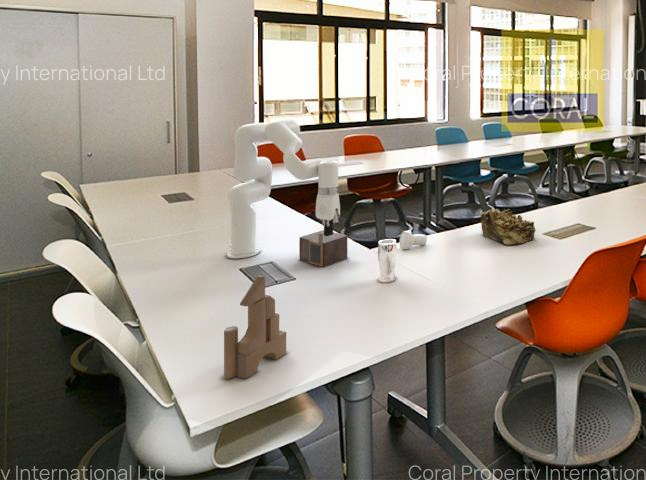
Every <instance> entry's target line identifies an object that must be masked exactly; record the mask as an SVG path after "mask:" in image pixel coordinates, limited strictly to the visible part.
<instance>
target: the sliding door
mask: <svg viewBox="0 0 646 480" xmlns="http://www.w3.org/2000/svg"><path fill="white" fill-rule="evenodd" d="M308 264H312V265H314V266H319V267H322V266H323V233H318V242H315V241H311V240H309V263H308Z"/></svg>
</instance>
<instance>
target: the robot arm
mask: <svg viewBox="0 0 646 480" xmlns="http://www.w3.org/2000/svg"><path fill="white" fill-rule="evenodd" d="M300 132H301V126H300V125H299V122H297V121H295V120H294V119H289V118H287V119H277V120H272V121H266V122H265V121H264V122H257V123H248V124H247V123H246V124H243V125H241V126H240V127H238V128H237V130H236V131H235V132H234V147H235V155H234V166H233V167H234V168H233V175H234V179H235V180H236V181H238V182H242V183H238V184H236V185H234V186H232V187H231V188H230V189H229V191H228V193H227V200H228V202H229V208H230V244H228V247H229V248H230V250H229V251H228V252H227V253H226V258H228V259H237V260H238V259H245V258H246V259H247V258H250V257H254V256H256V255H258V254H259V253H260V252H261V250H260V248H259V247H257V246H256V245H257V243H256V238H257V237H256V235H257V234H256V233H257V231H256V230H257V229H256V228H257V225H256V224H257V223H256V220H257V219H256V211H255V209H254V207H253V206H252V204H254V203H257V202H261V201H264V200H266V199H268V198H269V196H270V194H271V190H272V180H273V164H272V162H271V159H269V158H268V157H266V156H258V147H257V145H256V144H255V143H265V142H272V144H273V145H275V146H276V147H277V148H278V149H279V151H281V153H283V165H284V167H285V169H286V170H287V171H288V172H289V173H290V174H291V176H292V177H294V178H295V179H297V180H300V181H305V180H309V179H313V178H317V179H318V180H317V181H318V182H317V183H318V193H317V195H316V201H315V217H316V218H317V219H318V220H320V221H321V222H322V226H323V230H324V236H330V235H333V232H334V226H335V224H336V223H339V218H340V217H341V202H340V196H339V162H338V161H336V160H334V159H333V160H332V159H331V160H327V159H325V158H312V159H307V160H303V161H302V160H301V159H300V158H299V157H298V156H297V155H296V154H297V153H298V152H299V151H300V149H301V148H302V146H303V141H302V139H301V138H300V137H298V136H299V134H300ZM252 180H253V181H252Z"/></svg>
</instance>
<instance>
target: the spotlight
mask: <svg viewBox="0 0 646 480" xmlns="http://www.w3.org/2000/svg"><path fill="white" fill-rule="evenodd" d="M427 241H428V239H427V236H426V234H413V232H412V231H411V230H403V231H402V232H401V233H400V235H399V247H400V249H402V250H410V249H411V248H412V246H426V244H427Z"/></svg>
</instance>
